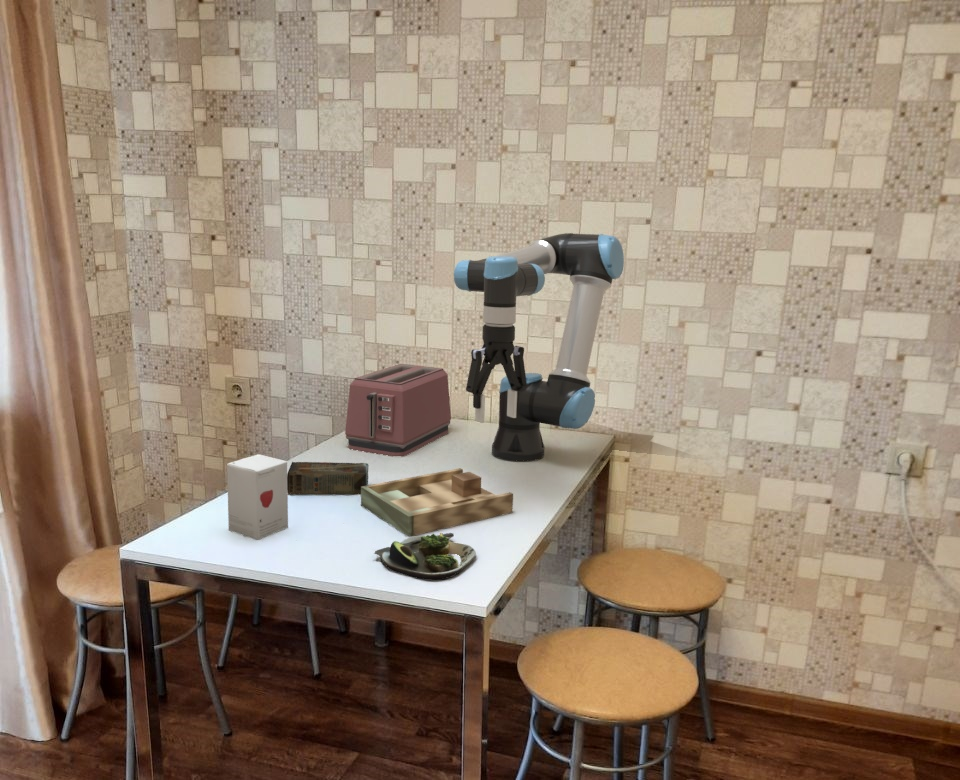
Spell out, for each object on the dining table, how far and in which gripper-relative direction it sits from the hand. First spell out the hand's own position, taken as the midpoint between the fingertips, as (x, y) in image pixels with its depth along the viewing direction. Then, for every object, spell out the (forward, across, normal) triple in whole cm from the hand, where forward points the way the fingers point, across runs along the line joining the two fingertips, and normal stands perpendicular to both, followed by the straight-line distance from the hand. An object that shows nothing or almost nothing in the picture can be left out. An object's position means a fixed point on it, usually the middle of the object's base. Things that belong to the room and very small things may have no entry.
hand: (495, 418), depth 192 cm
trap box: (+19, +17, 0) cm, 26 cm away
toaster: (+20, -4, -54) cm, 58 cm away
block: (+17, +8, 0) cm, 19 cm away
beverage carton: (+20, +32, -24) cm, 45 cm away
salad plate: (+20, +33, +23) cm, 45 cm away
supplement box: (+20, +55, -9) cm, 59 cm away
